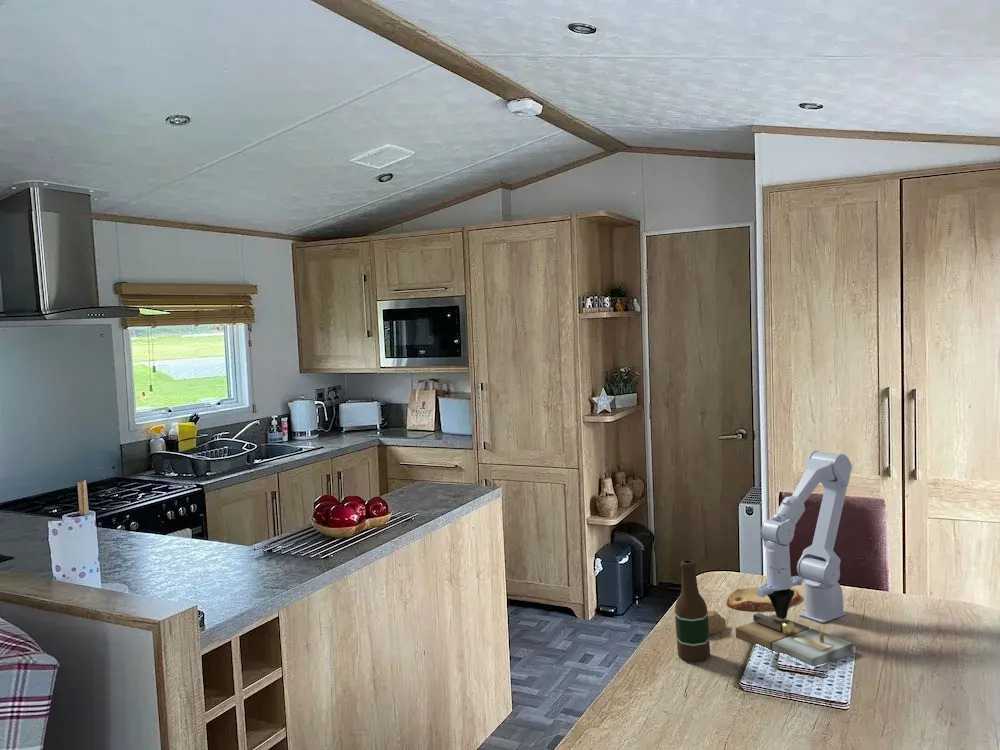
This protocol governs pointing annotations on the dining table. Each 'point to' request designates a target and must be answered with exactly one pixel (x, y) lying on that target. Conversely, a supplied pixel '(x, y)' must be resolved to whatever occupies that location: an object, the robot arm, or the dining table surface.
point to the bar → (775, 624)
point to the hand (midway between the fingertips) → (781, 617)
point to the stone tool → (715, 622)
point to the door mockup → (796, 642)
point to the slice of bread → (754, 600)
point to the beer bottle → (691, 618)
